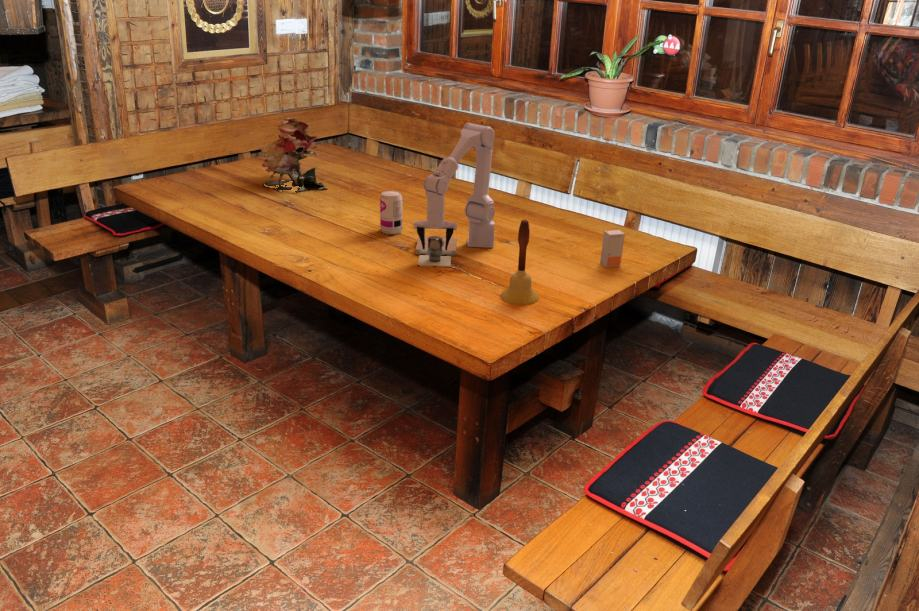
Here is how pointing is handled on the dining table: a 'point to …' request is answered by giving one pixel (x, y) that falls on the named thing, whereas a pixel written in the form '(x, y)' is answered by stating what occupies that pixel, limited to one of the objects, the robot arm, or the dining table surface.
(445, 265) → the pad
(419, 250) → the housing plate
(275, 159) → the rose bouquet
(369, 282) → the dining table surface
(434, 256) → the grey metal cylinder
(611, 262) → the skincare box
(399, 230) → the supplement can
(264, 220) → the dining table surface
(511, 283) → the handbell
